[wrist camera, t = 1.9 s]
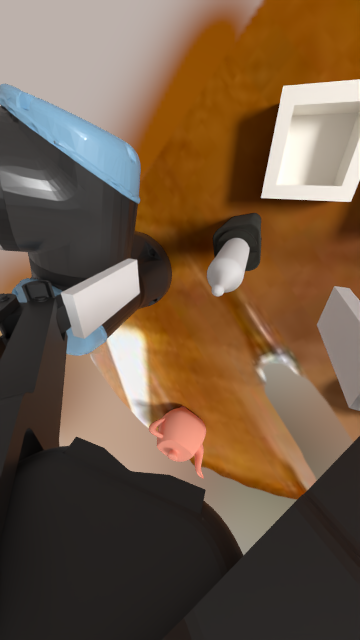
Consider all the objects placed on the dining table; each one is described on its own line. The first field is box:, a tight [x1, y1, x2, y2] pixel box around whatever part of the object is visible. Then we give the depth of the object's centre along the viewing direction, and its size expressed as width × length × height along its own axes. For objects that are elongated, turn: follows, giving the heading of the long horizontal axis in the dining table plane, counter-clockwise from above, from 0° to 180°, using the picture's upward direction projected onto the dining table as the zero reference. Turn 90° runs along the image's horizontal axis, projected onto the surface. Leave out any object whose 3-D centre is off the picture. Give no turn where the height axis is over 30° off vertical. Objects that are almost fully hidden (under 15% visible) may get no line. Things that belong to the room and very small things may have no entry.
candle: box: [207, 213, 261, 296], centre depth 24 cm, size 5×5×25 cm
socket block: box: [261, 80, 360, 202], centre depth 25 cm, size 10×10×5 cm
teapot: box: [149, 406, 206, 479], centre depth 61 cm, size 13×20×12 cm, turn 54°
